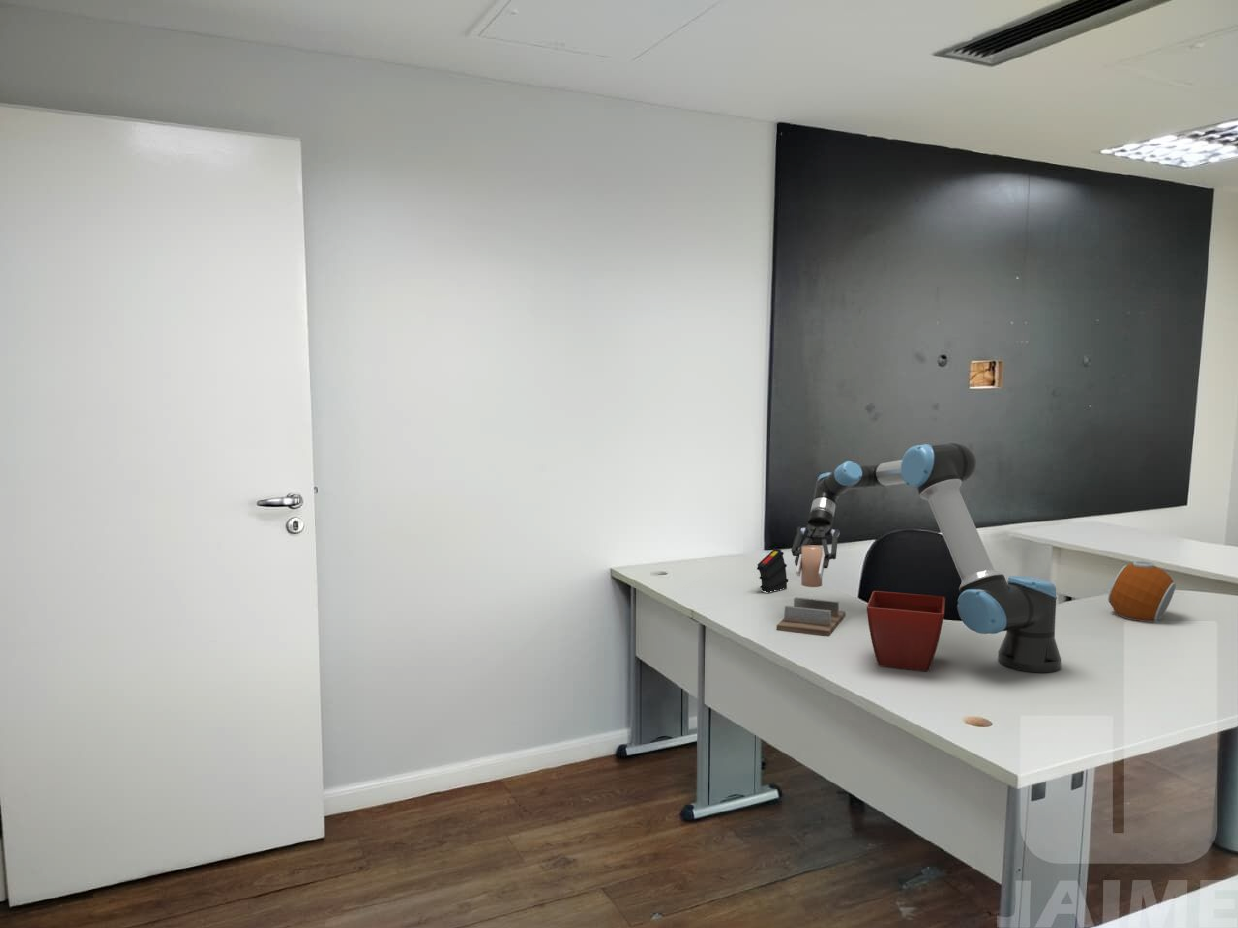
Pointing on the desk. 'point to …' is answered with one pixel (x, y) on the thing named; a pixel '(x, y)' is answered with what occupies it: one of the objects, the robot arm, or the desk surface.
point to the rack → (812, 617)
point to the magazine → (773, 571)
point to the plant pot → (905, 628)
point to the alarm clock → (1141, 592)
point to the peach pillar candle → (811, 565)
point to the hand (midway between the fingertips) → (809, 574)
